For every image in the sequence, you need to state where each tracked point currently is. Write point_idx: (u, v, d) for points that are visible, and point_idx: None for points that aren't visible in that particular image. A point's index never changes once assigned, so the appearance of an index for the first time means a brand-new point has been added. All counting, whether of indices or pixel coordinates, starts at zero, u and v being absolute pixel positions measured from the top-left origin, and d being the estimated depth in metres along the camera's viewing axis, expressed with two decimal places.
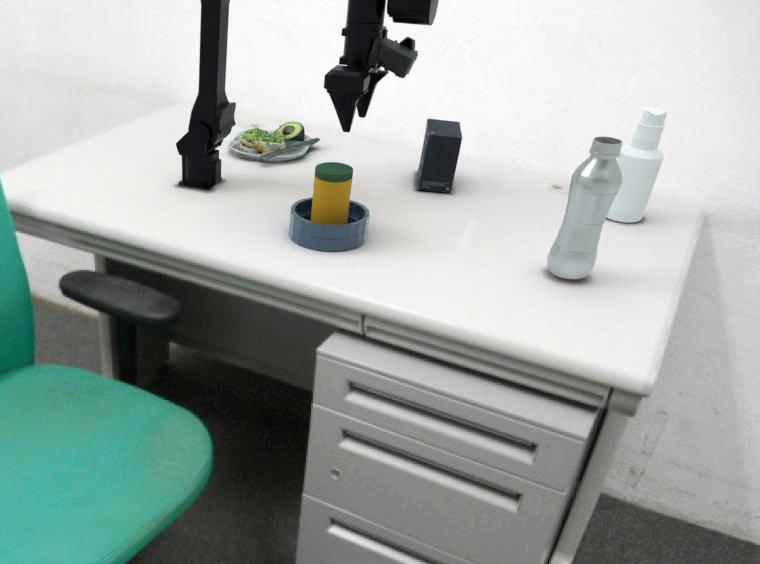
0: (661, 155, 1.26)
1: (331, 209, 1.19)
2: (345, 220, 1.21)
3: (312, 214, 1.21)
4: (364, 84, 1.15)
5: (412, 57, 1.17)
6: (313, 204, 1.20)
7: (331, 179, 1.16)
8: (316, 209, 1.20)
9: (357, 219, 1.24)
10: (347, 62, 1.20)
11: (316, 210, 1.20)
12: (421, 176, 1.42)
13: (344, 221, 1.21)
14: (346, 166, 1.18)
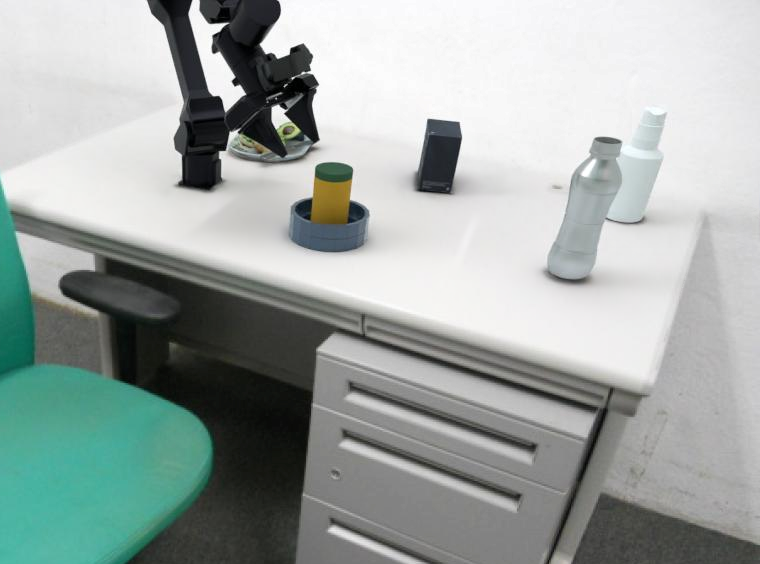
0: (661, 155, 1.26)
1: (331, 209, 1.19)
2: (345, 220, 1.21)
3: (312, 214, 1.21)
4: (254, 102, 1.12)
5: (293, 53, 1.12)
6: (313, 204, 1.20)
7: (331, 179, 1.16)
8: (316, 209, 1.20)
9: (357, 219, 1.24)
10: None
11: (316, 210, 1.20)
12: (421, 176, 1.42)
13: (344, 221, 1.21)
14: (346, 166, 1.18)
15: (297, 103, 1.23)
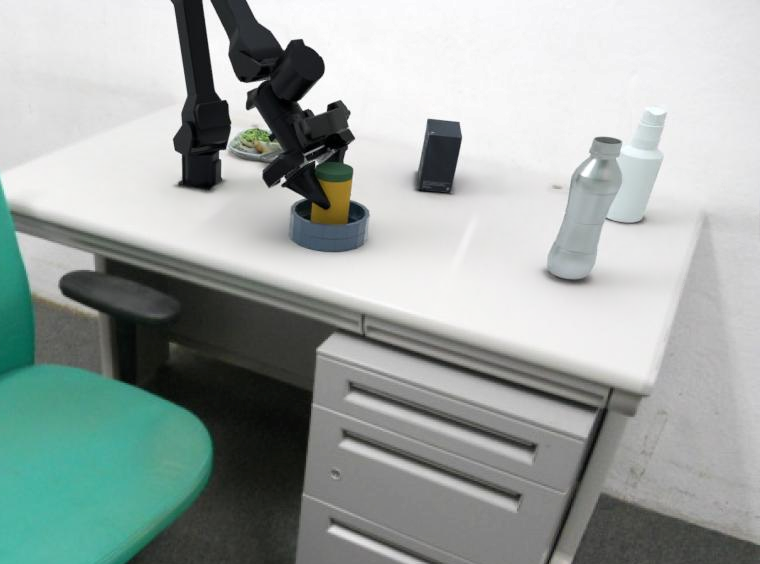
0: (661, 155, 1.26)
1: (331, 209, 1.19)
2: (345, 220, 1.21)
3: (312, 214, 1.21)
4: (292, 159, 1.12)
5: (331, 110, 1.12)
6: (313, 204, 1.20)
7: (331, 179, 1.16)
8: (316, 209, 1.20)
9: (357, 219, 1.24)
10: None
11: (316, 210, 1.20)
12: (421, 176, 1.42)
13: (344, 221, 1.21)
14: (346, 166, 1.18)
15: (328, 160, 1.22)
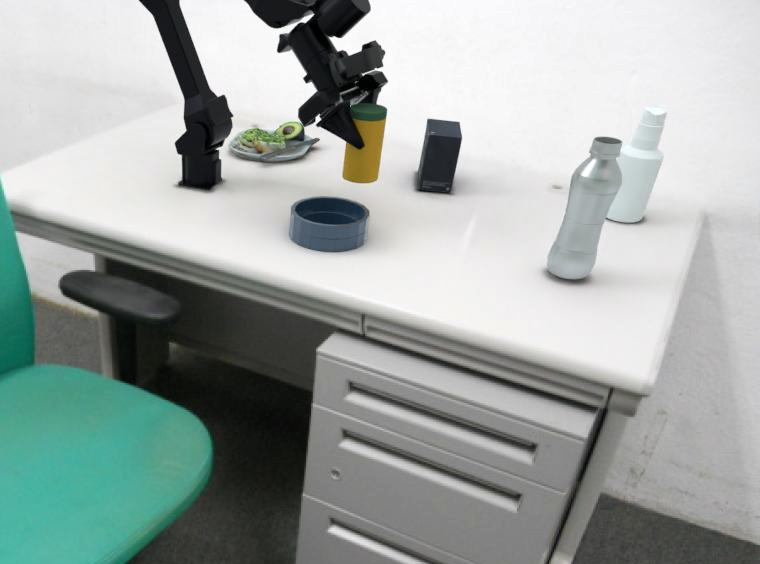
0: (661, 155, 1.26)
1: (364, 148, 1.21)
2: (378, 161, 1.23)
3: (346, 155, 1.24)
4: (329, 96, 1.14)
5: (367, 49, 1.14)
6: (347, 145, 1.23)
7: (366, 118, 1.18)
8: (350, 149, 1.22)
9: (357, 219, 1.24)
10: None
11: (350, 151, 1.22)
12: (421, 176, 1.42)
13: (377, 162, 1.23)
14: (380, 106, 1.20)
15: (362, 102, 1.24)
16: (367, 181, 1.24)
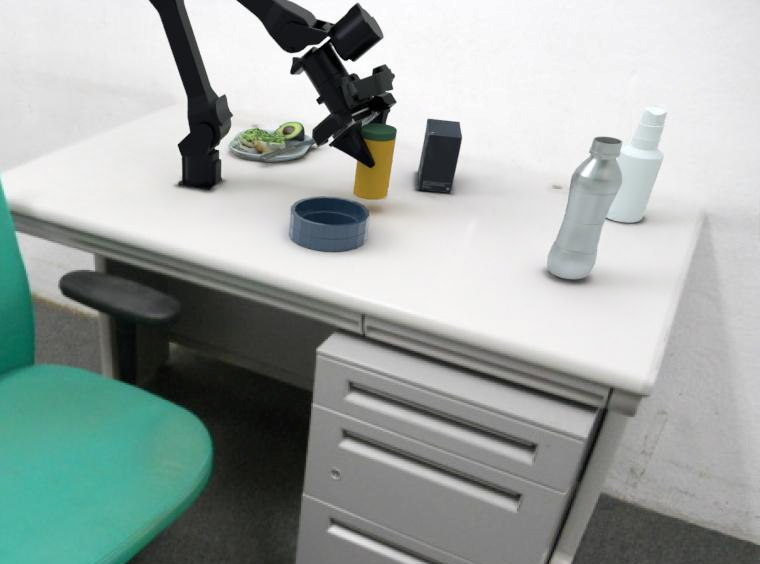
0: (661, 155, 1.26)
1: (375, 167, 1.26)
2: (388, 178, 1.29)
3: (357, 173, 1.29)
4: (342, 118, 1.20)
5: (378, 73, 1.20)
6: (358, 163, 1.28)
7: (377, 138, 1.24)
8: (361, 167, 1.28)
9: (357, 219, 1.24)
10: None
11: (361, 169, 1.28)
12: (421, 176, 1.42)
13: (387, 179, 1.29)
14: (390, 127, 1.26)
15: (372, 122, 1.30)
16: (377, 197, 1.30)
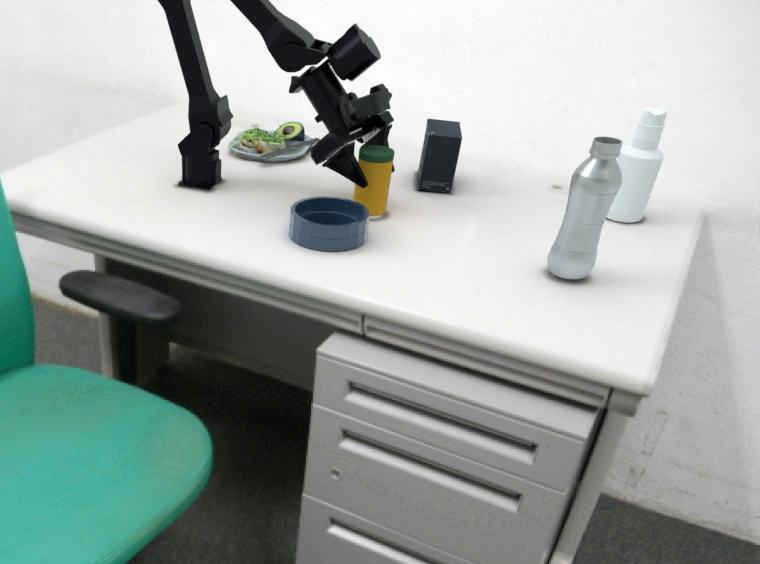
0: (661, 155, 1.26)
1: (373, 188, 1.28)
2: (386, 199, 1.31)
3: (355, 193, 1.31)
4: (340, 137, 1.21)
5: (375, 93, 1.22)
6: (356, 184, 1.30)
7: (374, 160, 1.26)
8: (359, 188, 1.30)
9: (357, 219, 1.24)
10: None
11: (359, 190, 1.30)
12: (421, 176, 1.42)
13: (385, 200, 1.31)
14: (387, 148, 1.28)
15: (374, 137, 1.32)
16: None
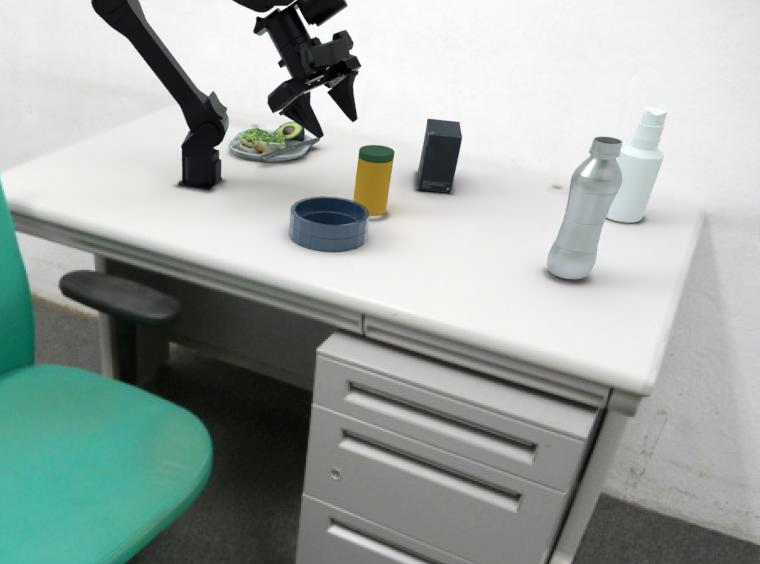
0: (661, 155, 1.26)
1: (373, 188, 1.28)
2: (386, 199, 1.31)
3: (355, 193, 1.31)
4: (293, 88, 1.22)
5: (333, 42, 1.21)
6: (356, 184, 1.30)
7: (374, 160, 1.26)
8: (359, 188, 1.30)
9: (357, 219, 1.24)
10: None
11: (359, 190, 1.30)
12: (421, 176, 1.42)
13: (385, 200, 1.31)
14: (387, 148, 1.28)
15: (339, 84, 1.32)
16: None
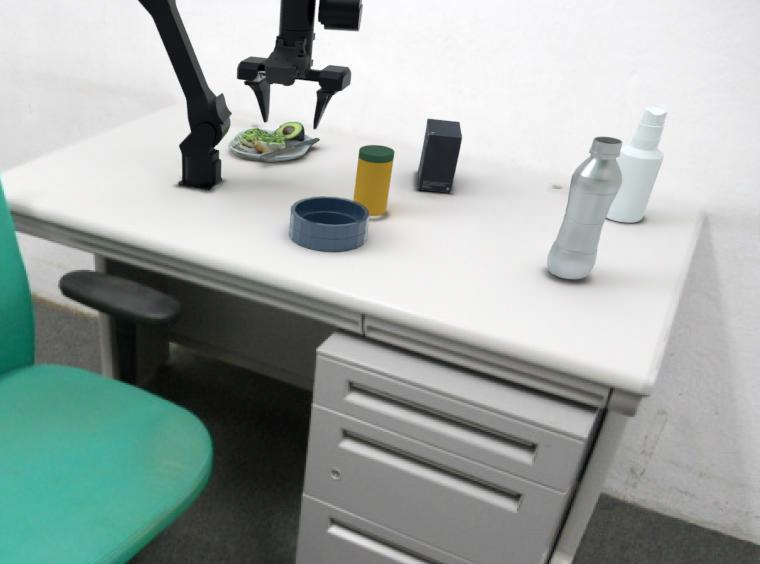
0: (661, 155, 1.26)
1: (373, 188, 1.28)
2: (386, 199, 1.31)
3: (355, 193, 1.31)
4: (241, 73, 1.30)
5: (269, 65, 1.23)
6: (356, 184, 1.30)
7: (374, 160, 1.26)
8: (359, 188, 1.30)
9: (357, 219, 1.24)
10: None
11: (359, 190, 1.30)
12: (421, 176, 1.42)
13: (385, 200, 1.31)
14: (387, 148, 1.28)
15: None
16: None
